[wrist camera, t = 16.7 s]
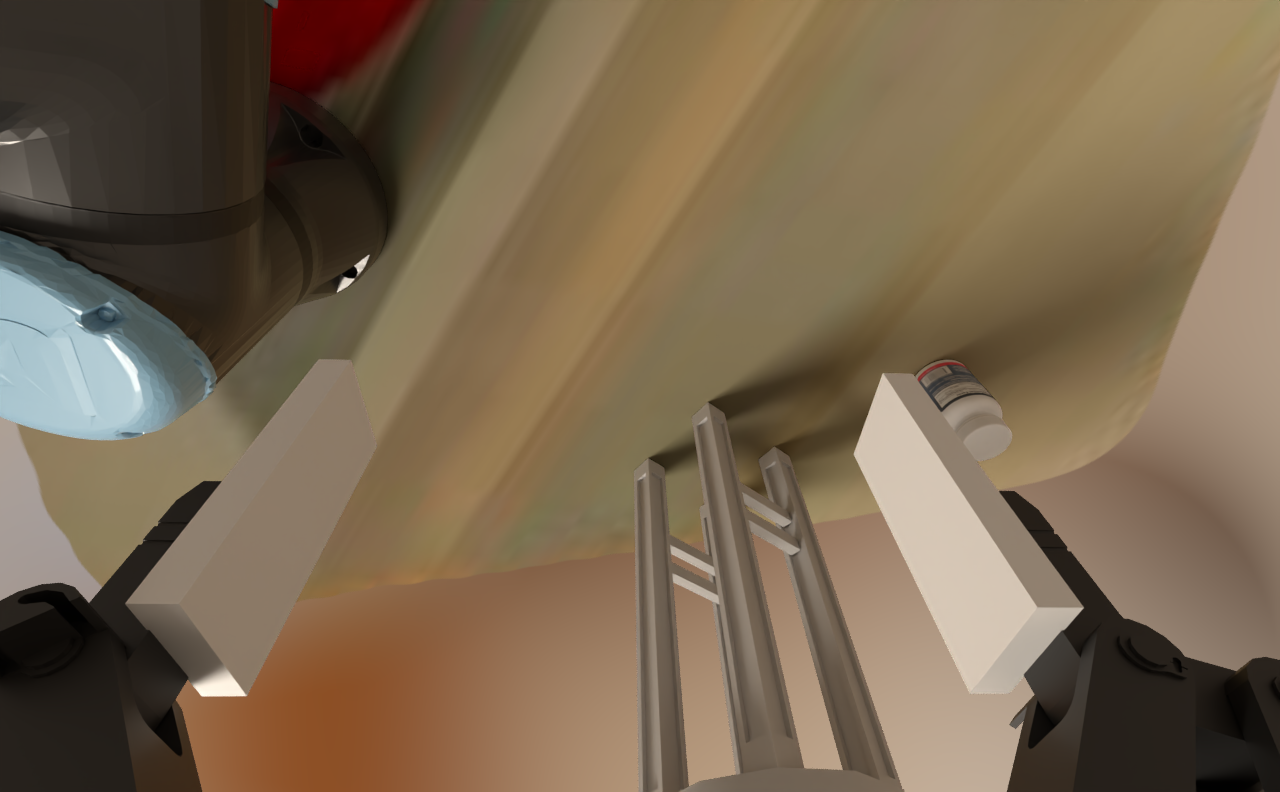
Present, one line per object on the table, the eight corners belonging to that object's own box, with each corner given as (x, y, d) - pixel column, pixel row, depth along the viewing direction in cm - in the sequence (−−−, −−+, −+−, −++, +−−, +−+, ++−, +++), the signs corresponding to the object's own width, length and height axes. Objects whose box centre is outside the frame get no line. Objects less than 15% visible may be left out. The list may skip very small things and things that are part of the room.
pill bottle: (954, 405, 55) (1003, 469, 48) (901, 403, 55) (943, 467, 47) (976, 358, 52) (1032, 419, 45) (920, 356, 51) (967, 417, 44)
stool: (714, 533, 65) (781, 957, 37) (606, 473, 59) (587, 922, 31) (818, 453, 58) (998, 900, 30) (706, 376, 52) (799, 842, 24)
